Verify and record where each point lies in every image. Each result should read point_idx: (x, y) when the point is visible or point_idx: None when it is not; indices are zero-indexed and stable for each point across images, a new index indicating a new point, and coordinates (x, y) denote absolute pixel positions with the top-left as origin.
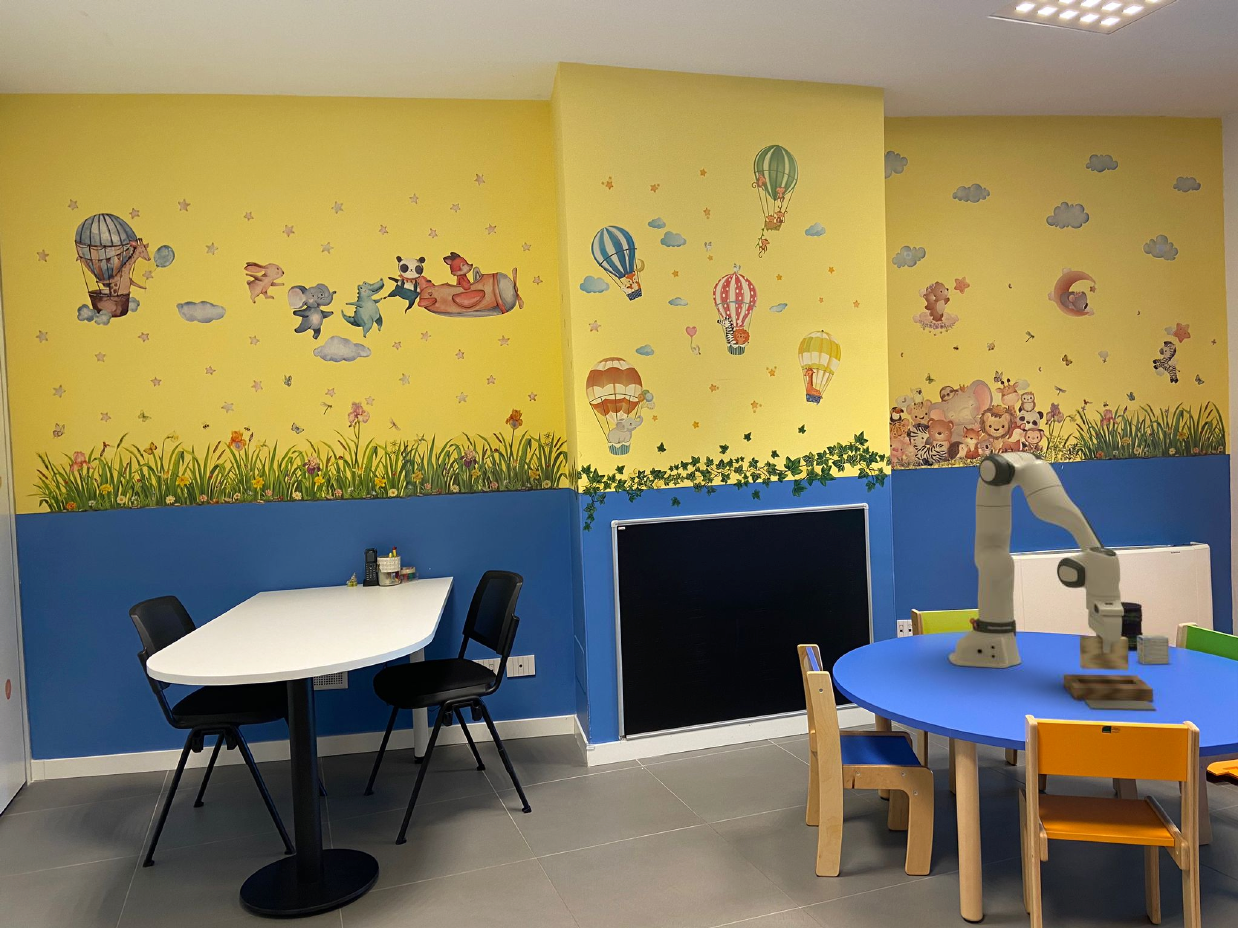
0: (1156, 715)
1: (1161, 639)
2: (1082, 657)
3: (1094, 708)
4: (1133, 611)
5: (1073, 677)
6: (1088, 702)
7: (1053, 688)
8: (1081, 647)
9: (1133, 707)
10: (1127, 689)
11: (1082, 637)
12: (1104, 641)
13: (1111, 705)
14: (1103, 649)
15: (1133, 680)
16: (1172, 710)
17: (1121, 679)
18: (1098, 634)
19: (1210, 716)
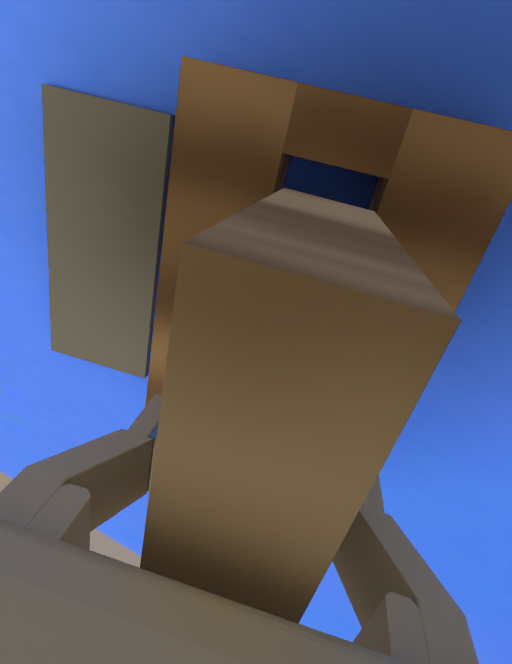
0: (3, 317)
1: None
2: (278, 198)
3: (45, 101)
4: None
5: (428, 175)
6: (126, 113)
7: (471, 35)
8: (314, 228)
9: (61, 283)
10: (154, 346)
11: (264, 287)
12: (21, 480)
13: (81, 207)
14: (145, 411)
15: None
16: (64, 396)
17: None
18: (98, 574)
19: (18, 450)
